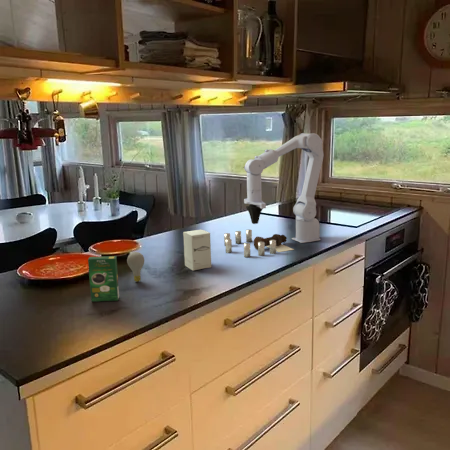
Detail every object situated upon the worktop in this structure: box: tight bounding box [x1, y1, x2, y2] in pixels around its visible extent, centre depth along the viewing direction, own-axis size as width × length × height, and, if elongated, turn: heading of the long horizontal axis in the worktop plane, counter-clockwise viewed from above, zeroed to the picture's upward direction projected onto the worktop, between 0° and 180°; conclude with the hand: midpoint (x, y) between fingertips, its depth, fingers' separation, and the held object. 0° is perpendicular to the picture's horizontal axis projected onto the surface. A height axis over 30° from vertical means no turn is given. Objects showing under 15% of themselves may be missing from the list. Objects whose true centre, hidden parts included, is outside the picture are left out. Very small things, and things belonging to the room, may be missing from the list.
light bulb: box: [126, 251, 145, 283], centre depth 147 cm, size 6×6×10 cm
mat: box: [265, 243, 295, 253], centre depth 186 cm, size 7×20×1 cm, turn 24°
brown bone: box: [253, 233, 288, 251], centre depth 184 cm, size 6×5×15 cm
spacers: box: [223, 229, 277, 258], centre depth 181 cm, size 16×22×5 cm
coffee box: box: [87, 255, 120, 303], centre depth 133 cm, size 8×3×13 cm, turn 93°
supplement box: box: [182, 229, 212, 271], centre depth 161 cm, size 7×7×13 cm
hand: (255, 223), depth 184 cm, fingers closed
